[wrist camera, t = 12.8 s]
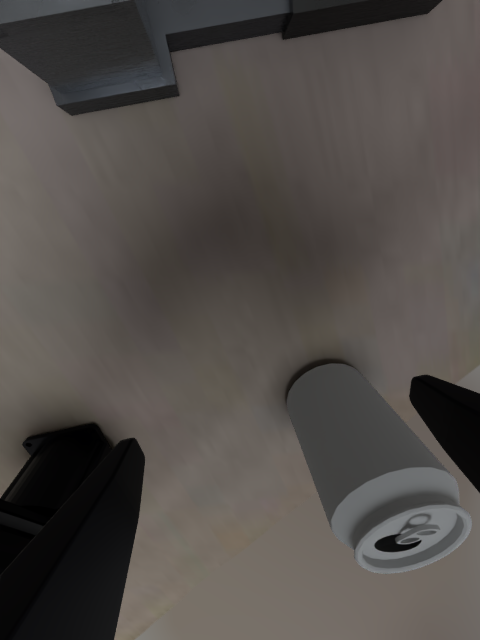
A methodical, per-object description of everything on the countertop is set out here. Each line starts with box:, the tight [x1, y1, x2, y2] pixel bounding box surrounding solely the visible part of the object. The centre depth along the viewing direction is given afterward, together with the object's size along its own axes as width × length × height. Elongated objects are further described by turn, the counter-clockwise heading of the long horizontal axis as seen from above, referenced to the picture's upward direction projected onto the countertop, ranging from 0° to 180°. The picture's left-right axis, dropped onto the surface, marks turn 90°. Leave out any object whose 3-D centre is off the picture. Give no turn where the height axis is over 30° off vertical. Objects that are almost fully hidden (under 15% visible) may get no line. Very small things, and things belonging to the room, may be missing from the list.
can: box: [286, 363, 472, 574], centre depth 18 cm, size 8×8×12 cm
